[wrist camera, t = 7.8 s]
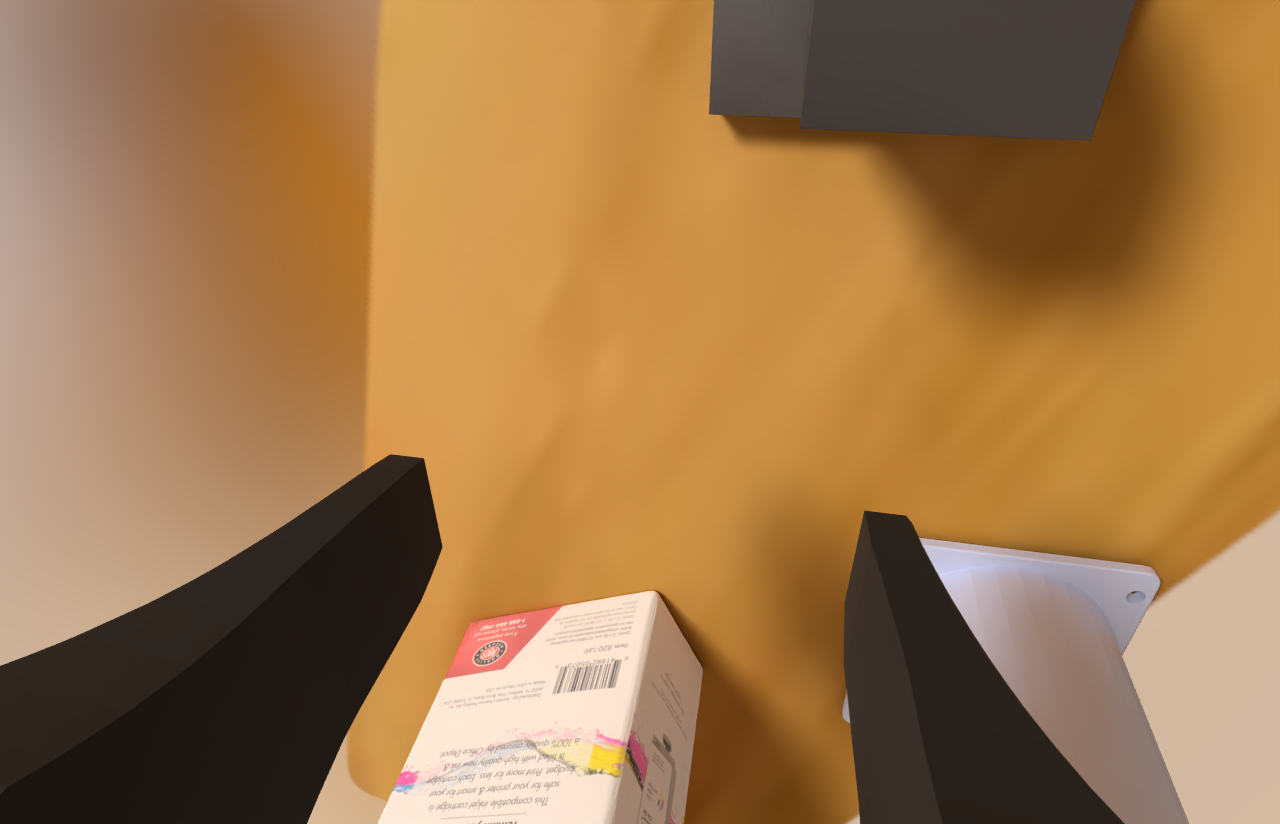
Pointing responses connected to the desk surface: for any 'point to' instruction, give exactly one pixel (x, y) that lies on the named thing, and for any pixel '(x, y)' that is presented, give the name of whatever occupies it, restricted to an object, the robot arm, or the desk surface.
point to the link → (961, 66)
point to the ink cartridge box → (559, 721)
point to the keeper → (758, 57)
